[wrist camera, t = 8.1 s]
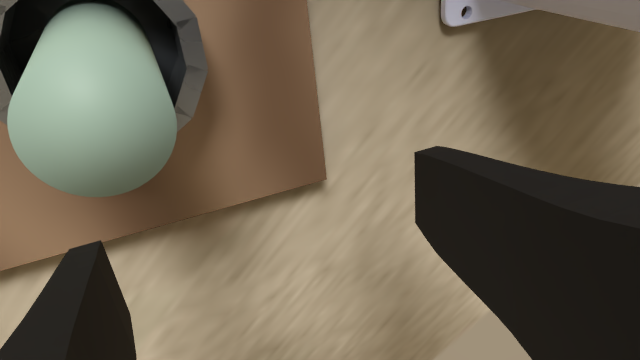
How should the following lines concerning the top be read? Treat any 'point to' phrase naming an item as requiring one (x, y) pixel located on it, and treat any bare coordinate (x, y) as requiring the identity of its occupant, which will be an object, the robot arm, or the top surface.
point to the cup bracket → (178, 121)
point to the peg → (92, 103)
